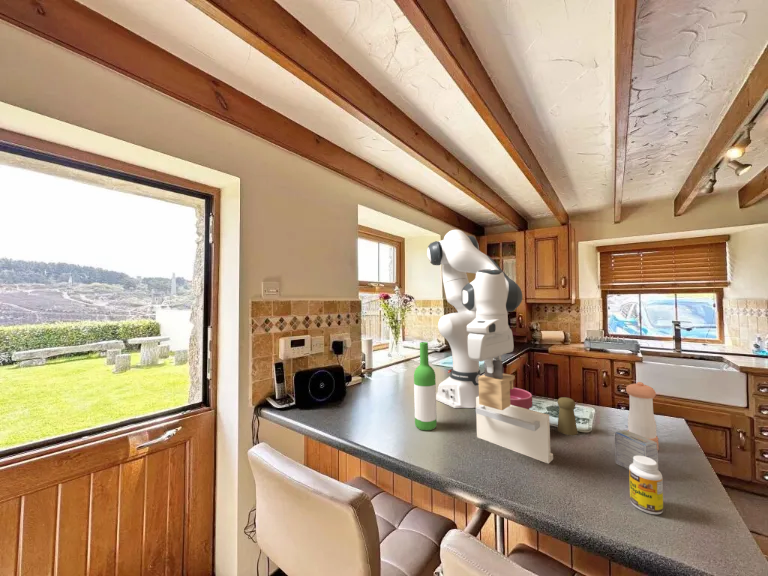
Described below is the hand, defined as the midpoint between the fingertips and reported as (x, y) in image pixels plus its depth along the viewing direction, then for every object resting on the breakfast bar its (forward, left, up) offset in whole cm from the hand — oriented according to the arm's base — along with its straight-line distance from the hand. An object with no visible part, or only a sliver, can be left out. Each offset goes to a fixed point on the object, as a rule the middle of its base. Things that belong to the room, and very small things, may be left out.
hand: (493, 371), depth 89 cm
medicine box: (+29, +20, -25) cm, 43 cm away
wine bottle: (-27, +1, -25) cm, 37 cm away
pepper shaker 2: (+28, +37, -25) cm, 53 cm away
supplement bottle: (+33, +4, -25) cm, 41 cm away
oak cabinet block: (0, +2, -10) cm, 10 cm away
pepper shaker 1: (+9, +32, -25) cm, 41 cm away
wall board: (+1, +7, -25) cm, 26 cm away
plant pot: (-5, +20, -25) cm, 32 cm away
